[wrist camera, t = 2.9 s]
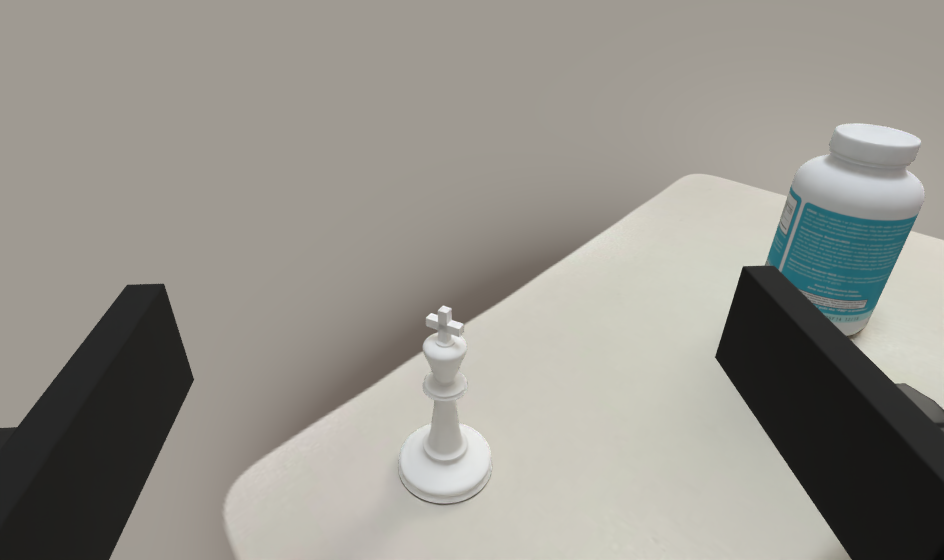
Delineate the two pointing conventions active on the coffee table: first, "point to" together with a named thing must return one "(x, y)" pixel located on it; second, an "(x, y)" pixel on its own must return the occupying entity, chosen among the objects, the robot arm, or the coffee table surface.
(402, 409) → the coffee table surface
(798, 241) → the pill bottle
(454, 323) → the chess piece
